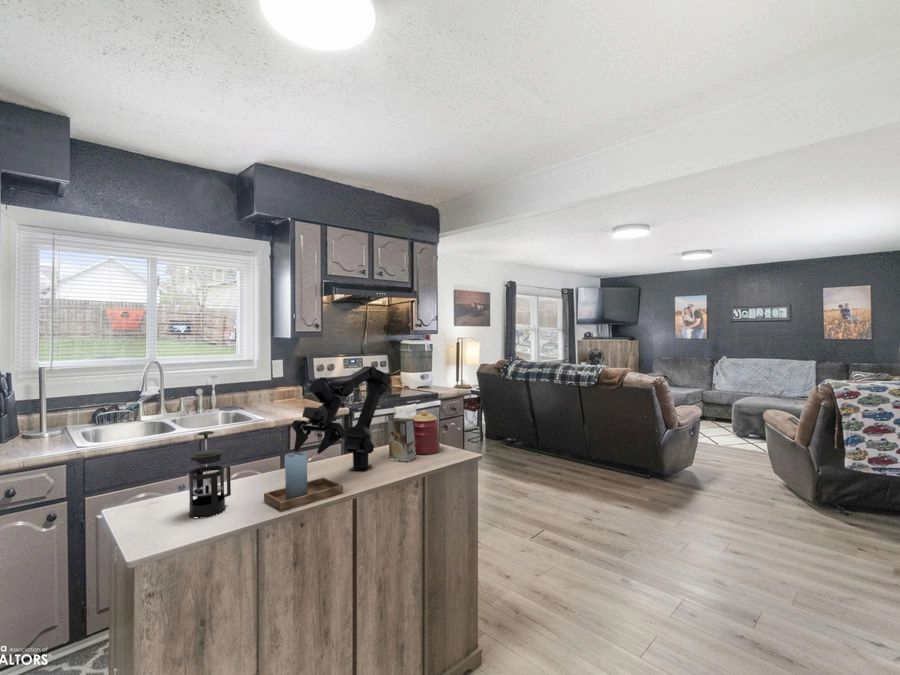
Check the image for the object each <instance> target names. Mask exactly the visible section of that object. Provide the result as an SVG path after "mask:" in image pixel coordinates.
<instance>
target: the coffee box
mask: <svg viewBox="0 0 900 675" xmlns="http://www.w3.org/2000/svg"><path fill="white" fill-rule="evenodd" d="M387 422H388V425H387V427H388V454H389V456H388V457H389V460H390V459H394V460H400V461H399V462H402V461H409V462H411V461H413V460H412V459H414V458H416V454H415V425H414V419H411V418H408V417H407V418H406V417H395V418H391V419H389V420H388V421H387ZM394 460H393V461H394ZM410 460H411V461H410ZM414 460H415V459H414Z"/></svg>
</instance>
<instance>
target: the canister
mask: <svg viewBox="0 0 900 675" xmlns="http://www.w3.org/2000/svg"><path fill="white" fill-rule="evenodd" d="M410 419H414V425H415V453H416V454H415V455H417V454H429V455H432V454H431V453H434V454H437V453H439V452H440V450H441V449H440V448H441V444H440V430H439V425H440V422H439V421H437V419H438V417H437V416H436V415H434V414H431V413H428V412H427V410H425V409H423V410H421V412H420V414H415V415H414V416H412V417H411V418H410ZM438 451H439V452H438ZM436 452H437V453H436Z"/></svg>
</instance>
